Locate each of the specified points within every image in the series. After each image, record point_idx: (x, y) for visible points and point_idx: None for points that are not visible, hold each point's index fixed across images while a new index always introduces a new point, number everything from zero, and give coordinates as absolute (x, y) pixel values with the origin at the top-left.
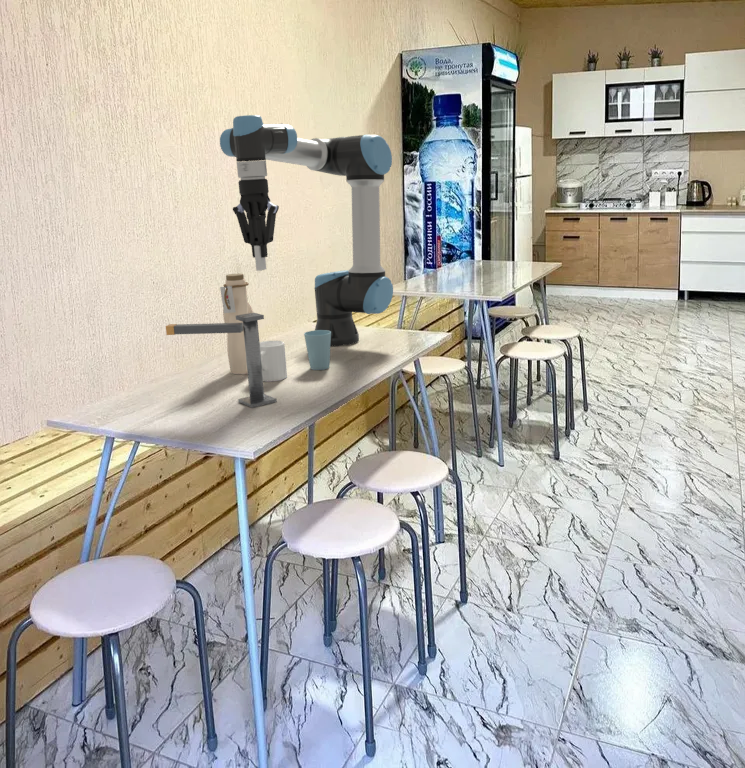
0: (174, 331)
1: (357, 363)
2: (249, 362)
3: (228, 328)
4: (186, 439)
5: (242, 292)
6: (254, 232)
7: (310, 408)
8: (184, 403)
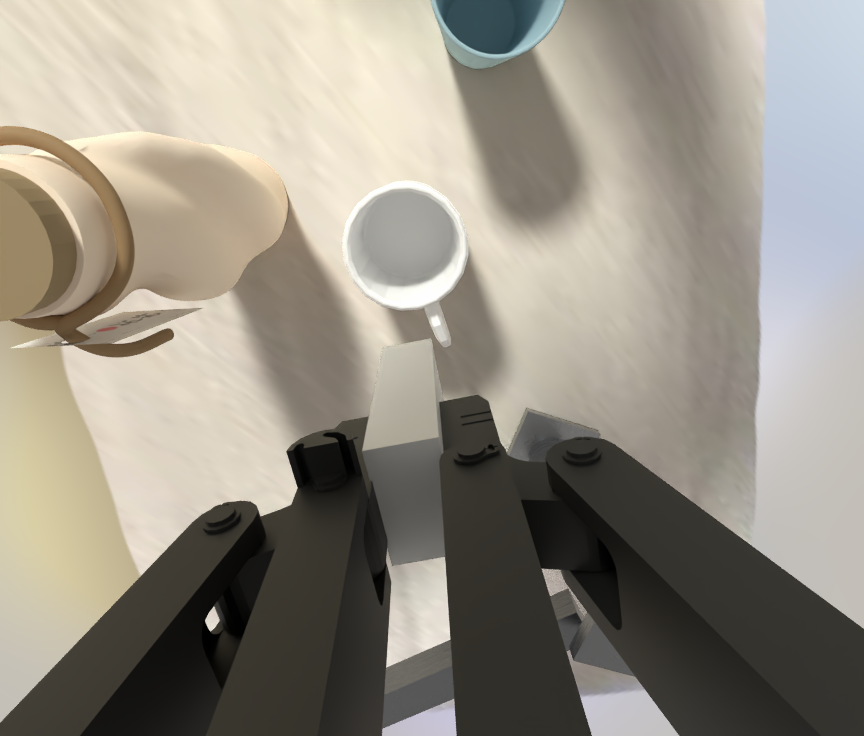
0: None
1: None
2: None
3: None
4: (577, 685)
5: (138, 243)
6: (373, 677)
7: (718, 434)
8: None
